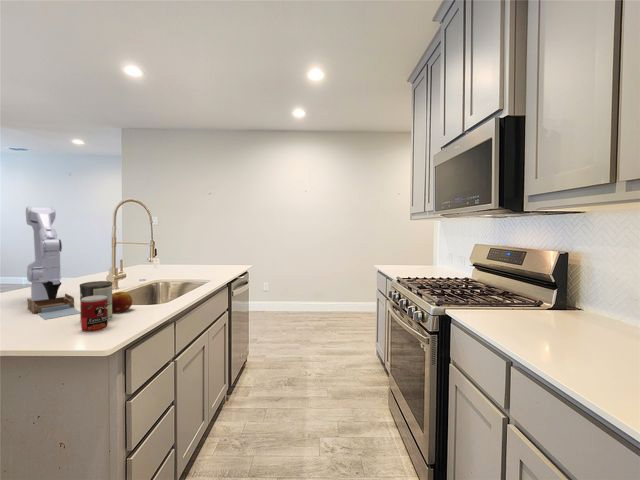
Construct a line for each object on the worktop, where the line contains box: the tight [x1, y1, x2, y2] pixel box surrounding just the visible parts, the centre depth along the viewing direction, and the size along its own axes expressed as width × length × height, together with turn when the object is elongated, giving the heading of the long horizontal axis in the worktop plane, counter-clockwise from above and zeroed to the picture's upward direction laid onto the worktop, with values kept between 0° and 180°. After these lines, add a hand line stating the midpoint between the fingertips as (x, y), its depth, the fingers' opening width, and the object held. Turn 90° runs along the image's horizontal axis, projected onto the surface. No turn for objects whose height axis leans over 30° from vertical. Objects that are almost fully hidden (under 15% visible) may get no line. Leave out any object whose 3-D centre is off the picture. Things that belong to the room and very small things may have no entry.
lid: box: [37, 304, 80, 321], centre depth 127 cm, size 12×12×2 cm
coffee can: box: [79, 280, 113, 323], centre depth 120 cm, size 10×10×14 cm
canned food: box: [80, 295, 109, 333], centre depth 110 cm, size 8×8×11 cm
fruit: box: [112, 291, 133, 313], centre depth 132 cm, size 10×9×8 cm
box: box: [27, 293, 75, 315], centre depth 134 cm, size 12×13×4 cm
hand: (52, 298), depth 133 cm, fingers closed
